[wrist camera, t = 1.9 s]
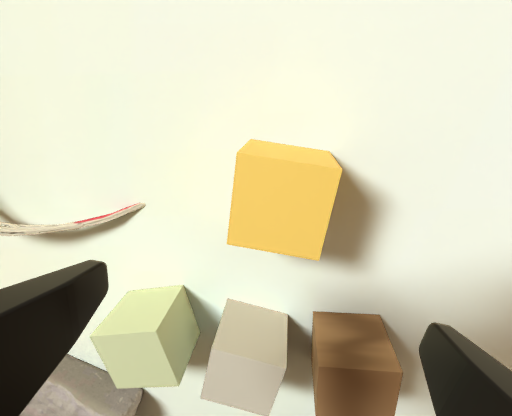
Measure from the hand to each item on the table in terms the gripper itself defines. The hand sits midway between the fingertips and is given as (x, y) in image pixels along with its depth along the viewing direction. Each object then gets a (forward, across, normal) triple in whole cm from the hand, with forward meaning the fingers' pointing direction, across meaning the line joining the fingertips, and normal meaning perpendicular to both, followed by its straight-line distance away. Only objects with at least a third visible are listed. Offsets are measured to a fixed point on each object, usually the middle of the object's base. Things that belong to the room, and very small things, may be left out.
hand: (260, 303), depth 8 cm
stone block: (+12, +17, +26) cm, 33 cm away
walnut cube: (+12, -7, +12) cm, 18 cm away
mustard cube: (+12, 0, 0) cm, 12 cm away
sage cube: (+12, +8, +13) cm, 19 cm away
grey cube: (+12, 0, +13) cm, 17 cm away
